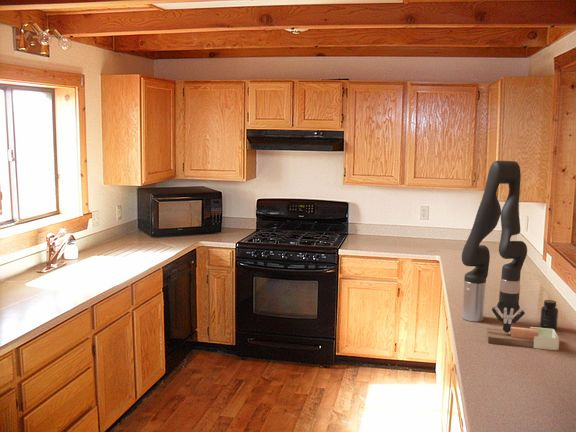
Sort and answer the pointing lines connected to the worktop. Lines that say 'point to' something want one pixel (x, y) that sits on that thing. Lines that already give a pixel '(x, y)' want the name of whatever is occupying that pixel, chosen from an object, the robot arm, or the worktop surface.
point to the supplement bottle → (549, 315)
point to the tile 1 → (517, 332)
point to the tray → (546, 339)
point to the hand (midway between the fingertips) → (506, 331)
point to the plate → (507, 338)
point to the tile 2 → (530, 333)
